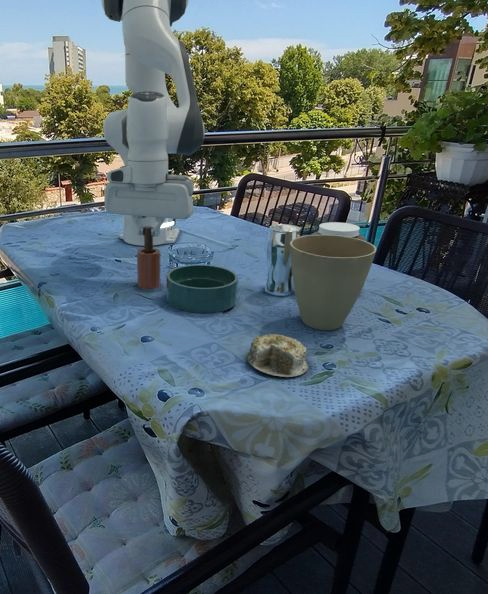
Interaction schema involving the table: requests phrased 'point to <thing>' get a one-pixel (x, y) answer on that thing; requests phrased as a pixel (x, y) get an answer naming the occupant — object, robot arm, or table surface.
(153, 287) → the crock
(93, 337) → the table surface
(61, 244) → the table surface
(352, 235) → the jar
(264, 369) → the cake
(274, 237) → the shiny metal cylinder
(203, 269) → the bowl
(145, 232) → the stirring stick
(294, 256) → the plant pot
